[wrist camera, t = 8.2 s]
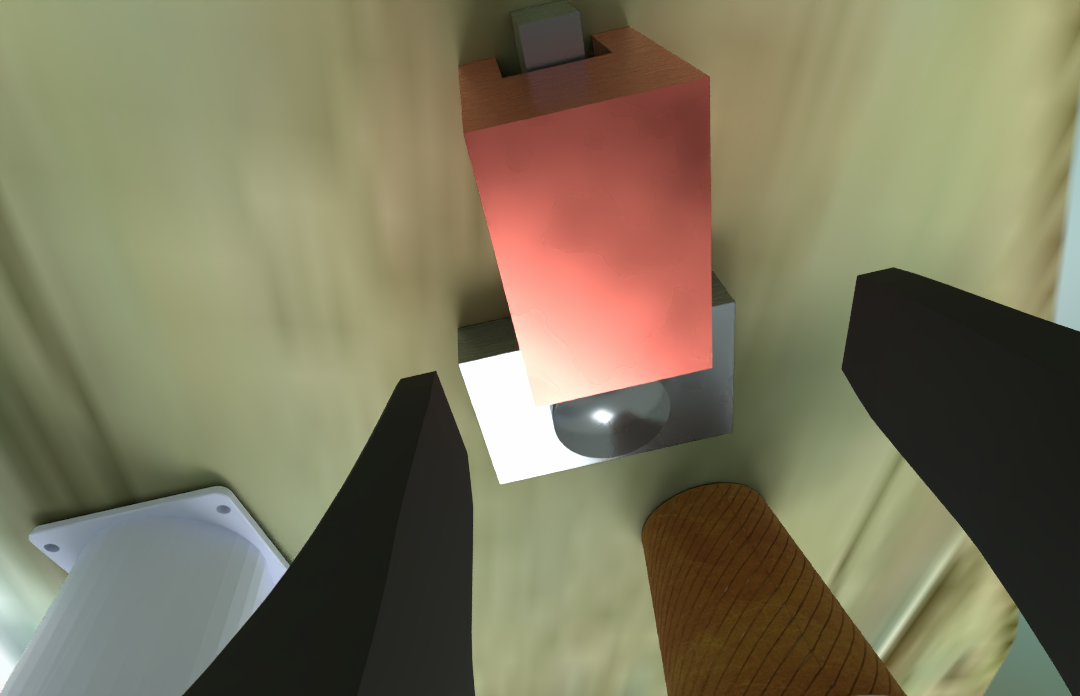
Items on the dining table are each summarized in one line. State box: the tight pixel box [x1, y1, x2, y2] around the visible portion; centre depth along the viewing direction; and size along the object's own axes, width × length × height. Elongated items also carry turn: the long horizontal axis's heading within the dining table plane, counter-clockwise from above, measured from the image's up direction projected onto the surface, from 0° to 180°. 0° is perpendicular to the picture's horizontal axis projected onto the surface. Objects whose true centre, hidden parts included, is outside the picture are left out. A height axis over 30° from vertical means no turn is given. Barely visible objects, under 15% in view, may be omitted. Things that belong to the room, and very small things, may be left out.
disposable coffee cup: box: [642, 483, 907, 696], centre depth 24 cm, size 10×10×12 cm
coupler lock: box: [458, 26, 712, 408], centre depth 15 cm, size 7×5×6 cm, turn 10°
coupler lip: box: [458, 0, 735, 484], centre depth 18 cm, size 15×9×3 cm, turn 10°
